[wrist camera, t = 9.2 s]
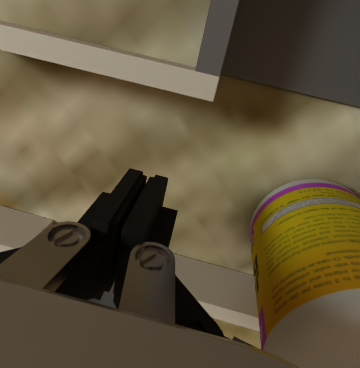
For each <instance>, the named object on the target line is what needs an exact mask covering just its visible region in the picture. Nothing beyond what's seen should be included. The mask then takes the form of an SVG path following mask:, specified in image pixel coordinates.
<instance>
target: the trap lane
mask: <svg viewBox="0 0 360 368" xmlns="http://www.w3.org/2000/svg"><path fill="white" fill-rule="evenodd" d="M0 50H3V51H7V52H12V53H16V54H20V55H24V56H28V57H32V58H36V59H40V60H44V61H48V62H52V63H56V64H61V65H65V66H69V67H73V68H77V69H81V70H85V71H89V72H93V73H97V74H101V75H105V76H110V77H114V78H118V79H122V80H126V81H130V82H134V83H138V84H142V85H146V86H150V87H154V88H159V89H163V90H167V91H171V92H175V93H179V94H183V95H187V96H191V97H195V98H199V99H203V100H207V101H212V102H213V100H214V97H215V95H216V91H217V87H218V84H219V80H220V76H221V74H223V75H227V76H231V77H236V78H240V79H244V80H248V81H252V82H256V83H261V84H265V85H269V86H273V87H277V88H282V89H286V90H290V91H294V92H298V93H302V94H307V95H311V96H315V97H319V98H323V99H328V100H332V101H336V102H340V103H344V104H348V105H353V106H357V107H360V0H211V2H210V7H209V11H208V16H207V21H206V25H205V30H204V34H203V39H202V43H201V48H200V52H199V57H198V61H197V66H196V68H194V67H190V66H186V65H182V64H178V63H173V62H169V61H165V60H161V59H157V58H153V57H148V56H144V55H140V54H136V53H132V52H127V51H123V50H119V49H115V48H111V47H107V46H102V45H98V44H94V43H90V42H86V41H81V40H77V39H73V38H69V37H65V36H61V35H56V34H52V33H48V32H44V31H40V30H35V29H31V28H27V27H23V26H19V25H15V24H10V23H6V22H2V21H0ZM51 225H53V220H51V219H47V218H43V217H40V216H36V215H32V214H29V213H25V212H22V211H18V210H14V209H11V208H7V207H4V206H1V207H0V252H3V251H7V250H11V249H15V248H19V247H23V246H24V245H26V244H27V243H28V242H29V241H31V240H32V239H33V238H35V237H36V236H37V235H39V234H40V233H41V232H42V231H44V230H45V229H46V228H48V227H49V226H51ZM174 257H175V275H176V276H177V277H178V278H179V280H180V281H181V282H182V283H183V284H184V285H185V287H186V288H187V289H188V290H189V291H190V293H191V294H192V295H193V296H194V297H195V299H196V300H197V301H198V302H199V303H200V304H201V306H202V307H203V308H204V309H205V310H206V312H207V313H208V314H209V315H210V316H211V318H215V319H218V320H222V321H225V322H229V323H232V324H236V325H239V326H243V327H246V328H250V329H253V330H257V331H260V328H259V319H258V309H257V298H256V291H255V280H254V276H253V275H249V274H245V273H242V272H238V271H235V270H231V269H227V268H224V267H220V266H217V265H213V264H209V263H206V262H202V261H199V260H195V259H191V258H188V257H184V256H180V255H177V254H174ZM114 282H115V281H114ZM113 289H114V284H113V286H112V288H111V290H110V292H105V291H104V293H103V296H102V298H101V300H97V299H93V298H92V299H89V300H87V301H90V302H94V303H98V304H102V305H106V306H109V307H113V308H116V306H115V304H114V303H113V299H114V294H113Z"/></svg>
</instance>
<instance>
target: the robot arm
mask: <svg viewBox="0 0 360 368" xmlns="http://www.w3.org/2000/svg"><path fill="white" fill-rule="evenodd" d="M146 179H147V176H145V175H143V172H142V171H139V170H134V169H129V170H128V171H127V173H126V174H125V175H124V177H123V178H122V179H121V181H120V182H119V183H118V184H117V186H116V187H115V188H114V190H113V191H112V192H111V194H110V193H106V192H102V193H101V194H100V196H99V197H98V198H97V199H96V200H95V202H94V203H93V204H92V205H91V206H90V208H89V209H88V210H87V211H86V213H85V214H84V215H83V216H82V217H81V219H80V220H79V221H78V222H68V221H66V222H59V223H56V224H53V225H51V226H49V227H48V228H46V229H45V230H44V231H42V232H41V233H40V234H39V235H37V236H36V237H35V238H33V239H32V240H31V241H29V242H28V243H27V244H26V245H24V246H23V247H19V248H15V249H11V250H7V251H3V252H0V368H300V367H298V366H296V365H294V364H292V363H290V362H288V361H286V360H284V359H282V358H280V357H278V356H275V355H273V354H271V353H268V352H266V351H263V350H261V349H258V348H256V347H254V346H252V345H250V344H248V343H246V342H244V341H242V340H240V339H238V338H236V337H233V339H232V340H231V339H229V338H227V337H225V336H224V335H223V332H222V331H221V329H220V328H219V326H218V325H217V323H216V322H215V321H214V320H213V319H212V318H211V316H210V315H209V314H208V313H207V312H206V310H205V309H204V308H203V307H202V306H201V304H200V303H199V302H198V301H197V300H196V299H195V297H194V296H193V295H192V294H191V293H190V291H189V290H188V289H187V288H186V287H185V285H184V284H183V283H182V282H181V281H180V280H179V278H178V277H177V276H176V275H175V257H174V254H173V253H172V251H171V250H170V249H169V244H170V240H171V236H172V232H173V228H174V224H175V220H176V216H177V210H173V209H169V208H166V207H162V206H163V201H164V196H165V192H166V187H167V182H168V178H167V177H163V176H159V175H155V177H154V178H153V177H150V178H149V179H148V181H147V183H146ZM114 281H115V282H114ZM113 284H114V289H113V294H114V299H113V303H114V304H115V306H116V308H113V307H109V306H106V305H102V304H98V303H94V302H90V301H87V300H89V299H92V298H93V299H97V300H101V298H102V296H103V293H104V291H105V292H110V290H111V288H112V286H113Z"/></svg>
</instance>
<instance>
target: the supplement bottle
mask: <svg viewBox="0 0 360 368" xmlns="http://www.w3.org/2000/svg"><path fill="white" fill-rule="evenodd" d="M250 242H251V252H252V262H253V271H254V280H255V291H256V298H257V309H258V319H259V328H260V338H261V350H263V351H266V352H268V353H271V354H273V355H275V356H278V357H280V358H282V359H284V360H286V361H288V362H290V363H292V364H294V365H296V366H298V367H300V368H360V197H359V196H357V195H356V194H355V193H354V192H353V191H351V190H350V189H348V188H347V187H345V186H343V185H341V184H338V183H335V182H332V181H328V180H323V179H303V180H297V181H293V182H289V183H287V184H284V185H282V186H280V187H278V188H276V189H275V190H273V191H272V192H271V193H269V194H268V195H267V196H266V197H265V198H264V199H263V200H262V201H261V202H260V203H259V205H258V206H257V208H256V210H255V211H254V213H253V216H252V219H251V224H250Z"/></svg>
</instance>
